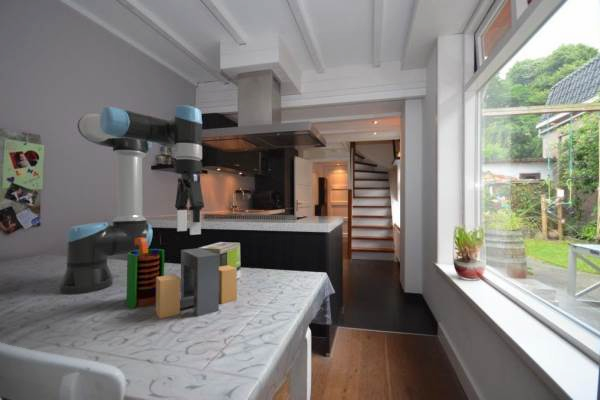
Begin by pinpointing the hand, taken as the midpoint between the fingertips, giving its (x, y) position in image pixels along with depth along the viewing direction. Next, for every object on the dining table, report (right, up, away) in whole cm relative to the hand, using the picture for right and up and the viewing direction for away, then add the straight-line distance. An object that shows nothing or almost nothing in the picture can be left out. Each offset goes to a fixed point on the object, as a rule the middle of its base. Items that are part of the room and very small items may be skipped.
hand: (188, 232), depth 78 cm
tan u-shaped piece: (+2, -22, +2) cm, 22 cm away
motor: (-16, -23, +5) cm, 28 cm away
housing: (+2, -22, +2) cm, 22 cm away
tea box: (+1, -23, +26) cm, 35 cm away
